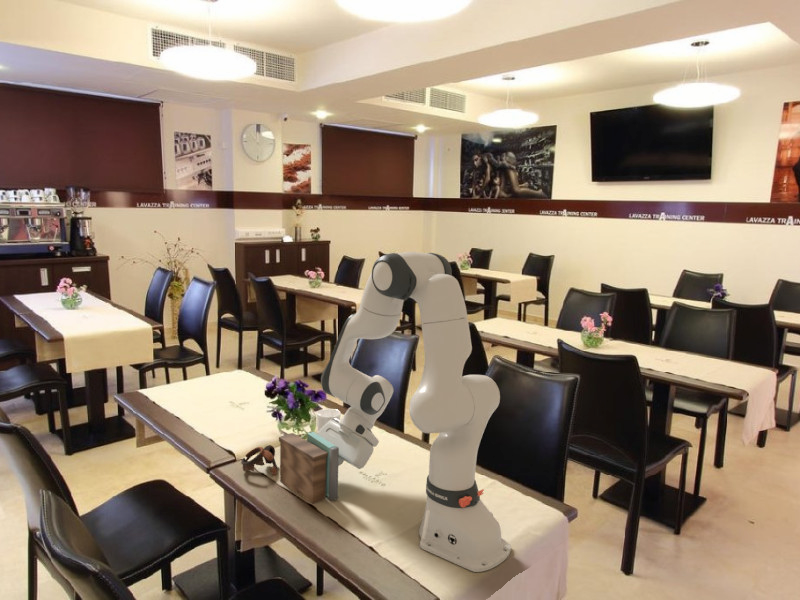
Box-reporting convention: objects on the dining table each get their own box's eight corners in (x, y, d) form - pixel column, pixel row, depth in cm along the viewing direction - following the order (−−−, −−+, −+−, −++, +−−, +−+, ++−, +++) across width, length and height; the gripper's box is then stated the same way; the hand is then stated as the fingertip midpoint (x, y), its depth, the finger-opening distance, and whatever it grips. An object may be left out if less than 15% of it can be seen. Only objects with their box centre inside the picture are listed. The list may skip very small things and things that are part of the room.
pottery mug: (273, 482, 157) (257, 460, 155) (247, 490, 161) (232, 469, 158) (289, 455, 168) (274, 434, 166) (264, 463, 171) (250, 442, 169)
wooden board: (326, 498, 149) (327, 452, 147) (312, 504, 146) (313, 457, 144) (292, 476, 161) (292, 433, 159) (278, 480, 157) (278, 437, 155)
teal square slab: (339, 497, 149) (340, 448, 146) (331, 500, 147) (332, 451, 145) (313, 477, 159) (314, 431, 157) (305, 480, 158) (306, 433, 155)
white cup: (335, 447, 181) (336, 418, 179) (312, 444, 183) (313, 415, 181) (342, 437, 189) (343, 409, 187) (320, 435, 190) (321, 407, 189)
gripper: (326, 410, 165) (298, 450, 160) (371, 433, 150) (341, 478, 145) (338, 421, 168) (311, 460, 164) (383, 444, 154) (354, 488, 149)
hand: (326, 469), depth 154 cm, fingers closed
